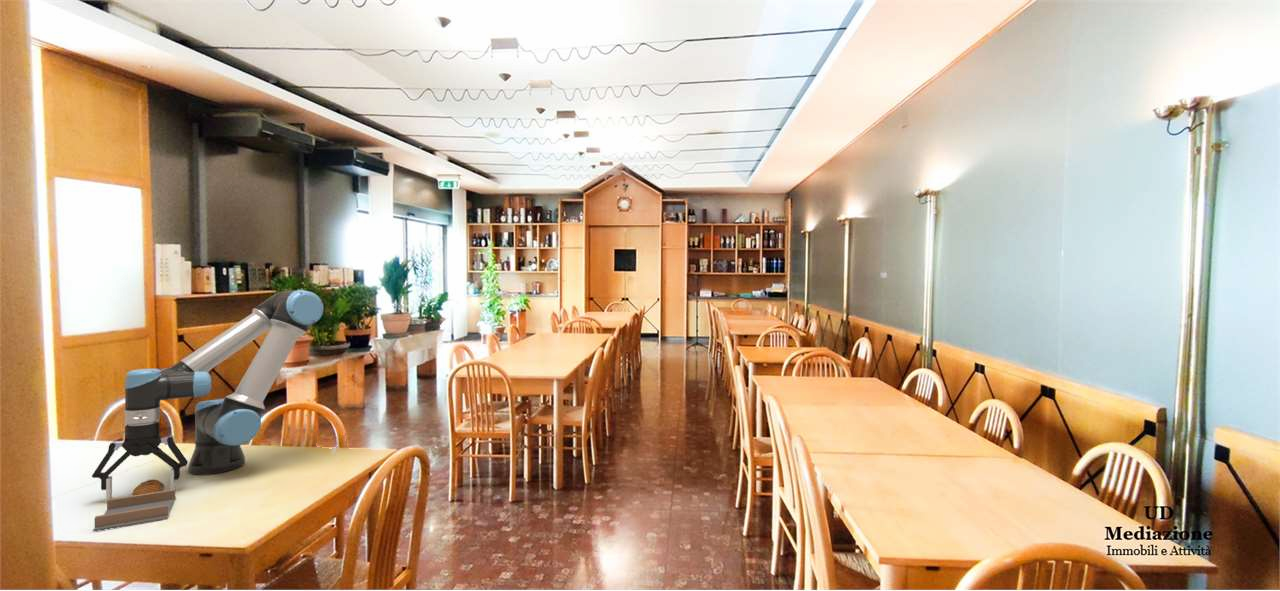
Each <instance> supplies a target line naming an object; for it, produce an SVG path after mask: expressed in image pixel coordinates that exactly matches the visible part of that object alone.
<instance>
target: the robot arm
mask: <svg viewBox="0 0 1280 591" xmlns="http://www.w3.org/2000/svg"><path fill="white" fill-rule="evenodd" d="M323 314H324V303H323V301H322V299H321V298H320V297H319V295H317V294H316V293H315V292H312V291H307V290H305V289H297V290H294V289H293V290H291V289H287V290H282V291H279V292H276V293H275V294H273V295H272V296H270V297H269V298H267V299H266V300H264V301H263V302H261V303H260V304H258V305H257V306H255V307H254V308H253V309H252V312H251V313H250V314H249V315H248V316H245V318H243V319H241V320H240V321H238V322H237V323H236V324H234V325H232V326H230V327H229V328H228V329H226V330H225V331H223V332H222V333H220V334H219V335H217V336H216V337H214V338H212V340H210V341H208V342H206V344H203V345H202V346H201V347H199V348H198V349H196V350H194V351H193V352H192V353H190V354H189V355H187V356H186V357H184V358H182V359H181V360H179V361H178V362H177V363H175V364H174V365H172V366H171V367H166V368H162V369H161V370H160V369H159V368H140V369H134V370H133V369H132V370H130V371H128V372H127V373H126V375H125V385H124V390H125V391H124V396H125V399H124V401H125V403H124V405H125V406H124V423H125V424H126V425H125V426H124V441H122V442H117V441H111V442H110V444H109V445H108V449H107V452H106V454H105V456H104V457H103V458H102V460H100V463H99V464H98V466H97V467H96V469H95V470H94V472H93V474H92V475H91V477H92V478H94V479H96V478H97V479H100V489H101V491H105V503H107V500H108V499H113V476H112V475H111V474H112V473H113V472H115V470H116V469H117V468H118V467H119V466H120V465H121V464H122V463H123V462H125V460H126V459H128V458H129V456H132V457H139V456H149V455H151V454H153V455H154V456H156V457H158V458H159V459H160V460H161V461H163V462H164V463H166V464H167V465H168V466H169V467H170V468H171V470H170V480H169V481H170V488H169V490H173V489H175V488H176V481H179V479H180V476H181V475H180V474H181V470H180V469H181V468H184V467H186V466H187V465H188V466H187V467H188V470H187V471H188V474H191V475H212V474H220V473H224V472H225V471H226V472H228V471H229V470H230V471H233V470H236V469H239V468H241V467H243V466H244V465H245V464H246V456H245V454H244V452H243V448H242V447H241V445H244V444H246V443H249V442H250V441H251V440H253V439H254V438H255V437H256V436H257V435H258V434H259V432H260V430H261V427H262V420H261V417H262V415H263V414H264V411H265V409H266V407H265V404H264V401H265V399H266V397H267V395H268V393H269V392H270V390H271V388H272V386H273V384H275V381H276V379H277V377H278V375H279V374H280V371H281V370H282V368H283V366H284V364H285V362H286V361H287V360H288V357H289V355H290V353H291V351H292V350H293V348H294V346H295V344H296V342H297V340H298V338H299V337H301V336H303V335H306V334H307V333H308V331H309V329H310V327H311V325H313V324H315V323H317V322H318V321H319V320H320V319H321V318H322V316H323ZM267 331H268V333H267V335H266V337H265V338H264V340H263V341H262V344H261V345H260V347H259V349H258V351H257V352H256V354H255V356H254V358H253V359H252V361H251V362H250V364H249V366H248V368H247V370H246V372H245V373H244V375H243V377H242V378H241V380H240V382H239V384H238V385H237V387H236V389H235V390H234V392H233V393H231V394H229V395H226V396H225V397H224V398H216V399H209V400H203V401H199V402H198V403H196V405H195V410H194V417H195V418H194V422H195V425H194V430H195V433H194V434H195V437H194V439H195V441H194V442H195V444H194V449H193V452H192V456H191V457H190V460H189V463H188V460H187V458H186V457H185V456H184V453H183V452H181V449H179V447H178V446H177V444H176V443H175V439H174V436H173V435H169V436H168V437H167V436H166V437H162V438H161V435H160V434H161V433H160V425H161V424H160V419H161V401H167V400H168V401H169V400H176V399H177V400H178V399H186V398H197V397H202V396H207V395H208V394H209V393H210V392H211V388H212V378H211V374H210V373H209V371H211V370H212V369H214V368H215V367H217V366H218V365H219V364H220V363H222V362H224V361H225V360H227V359H229V358H230V357H231V356H232V355H234V354H235V353H237V352H238V351H240V350H241V349H242V348H244V347H246V346H247V345H248V344H249V343H251V342H252V341H254V340H256V339H257V338H259V337H260V336H261V335H263V334H264V333H266V332H267ZM161 443H163V444H164V445H166V446H168V448H169V450H170V451H171V452H172V454H173V455H174V457H175V458H176V460H177V461H178V462H177V461H176V460H175V459H174V458H173V457H171V456H170V455H169V454H167V453H166V452H164V451H163V450H162V449H161V448H160V447H159V446H160V445H161ZM121 447H122V448H123V449H124V450H125V452H124V453H123V454H122V456H120V457H119V458H118V459H117V460H116V461H114V463H113V464H111V466H109V467H108V468H107V470H106V471H104V472H103V470H104V468H105V467H106V465H107V463H108V462H109V460H110V459H111V458H112V456H113V455H114V453H115V451H118V450H119V449H120V448H121ZM243 464H244V465H243ZM242 465H243V466H242ZM240 466H241V467H240ZM238 467H239V468H238ZM235 468H236V469H235ZM232 469H233V470H232ZM175 490H176V489H175Z"/></svg>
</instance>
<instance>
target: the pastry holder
mask: <svg viewBox="0 0 1280 591" xmlns="http://www.w3.org/2000/svg"><path fill="white" fill-rule="evenodd" d="M176 500H177V497H176V489H173V490H170V489H167V490H162V491H160V492H153V493H147V494H140V495H129V496H128V495H127V496H122V497H114V498H112V499H108V500H107V502H106V511H105V512H104V513H103V514H102V515H96V516H95V517H94V528H93V530H92V532H93V531H97V532H99V531H98V530H103V531H106V530H105V529H108V530H111V529H110V528H114V529H118V528H117V527H120V528H125V527H124V526H126V527H129V526H130V527H131V526H135V525H142V524H146V523H148V522H149V523H153V521H154V522H159V521H158V520H160V521H164V520H163V519H166V520H168V519H167V518H169V516H170V514H169V513H171V512H170V511H172V509H173V507H174V505H175V502H176ZM174 501H175V502H174ZM172 506H173V507H172ZM149 523H148V524H149ZM122 526H123V527H122Z"/></svg>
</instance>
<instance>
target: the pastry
mask: <svg viewBox="0 0 1280 591" xmlns="http://www.w3.org/2000/svg"><path fill="white" fill-rule="evenodd" d="M164 488H165V485H164V483H163V482H161V481H159V479H153V478H152V479H148V480H145V481H142V482H141V483H140V484H138V485H137V486H136V487H135V488H134V489H133V490H132V493H131V496H133V495H140V494H147V493H153V492H160V491H164Z"/></svg>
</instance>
